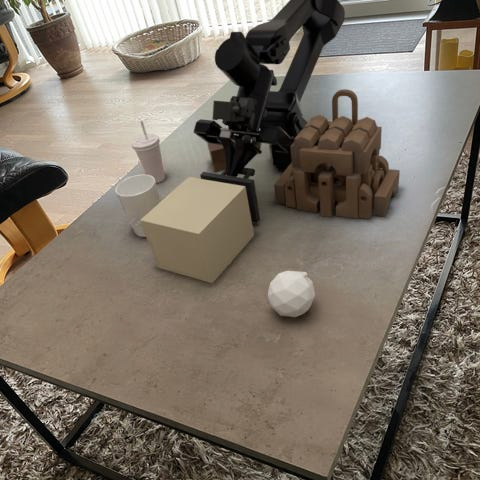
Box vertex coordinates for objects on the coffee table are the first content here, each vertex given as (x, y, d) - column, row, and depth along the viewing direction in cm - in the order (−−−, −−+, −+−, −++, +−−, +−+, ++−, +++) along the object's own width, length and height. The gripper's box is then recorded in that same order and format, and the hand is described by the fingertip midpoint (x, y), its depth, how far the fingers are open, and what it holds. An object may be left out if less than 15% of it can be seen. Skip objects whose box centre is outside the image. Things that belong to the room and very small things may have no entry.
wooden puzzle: (271, 209, 98) (258, 118, 85) (299, 172, 106) (291, 84, 93) (381, 224, 88) (385, 124, 75) (402, 182, 97) (409, 85, 84)
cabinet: (201, 223, 98) (188, 176, 91) (254, 235, 93) (245, 186, 85) (157, 267, 91) (139, 220, 83) (212, 283, 85) (198, 233, 77)
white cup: (139, 244, 97) (122, 201, 90) (127, 226, 102) (110, 184, 95) (174, 228, 99) (160, 185, 92) (161, 212, 104) (147, 169, 97)
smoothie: (165, 185, 112) (147, 126, 102) (140, 186, 114) (120, 129, 104) (173, 171, 116) (157, 113, 106) (149, 172, 118) (130, 115, 108)
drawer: (224, 198, 102) (216, 159, 96) (272, 207, 97) (266, 166, 91) (174, 249, 92) (161, 209, 86) (223, 262, 87) (213, 221, 81)
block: (231, 157, 116) (227, 137, 113) (235, 166, 113) (231, 145, 109) (211, 162, 116) (207, 142, 113) (214, 171, 113) (210, 151, 109)
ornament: (274, 291, 80) (300, 254, 76) (306, 321, 78) (334, 284, 74) (250, 299, 75) (276, 259, 71) (283, 332, 73) (312, 293, 68)
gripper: (188, 75, 88) (166, 159, 89) (278, 79, 79) (252, 172, 81) (219, 102, 98) (199, 179, 99) (302, 109, 89) (279, 192, 90)
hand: (229, 180), depth 92 cm, fingers closed, pressing on drawer
